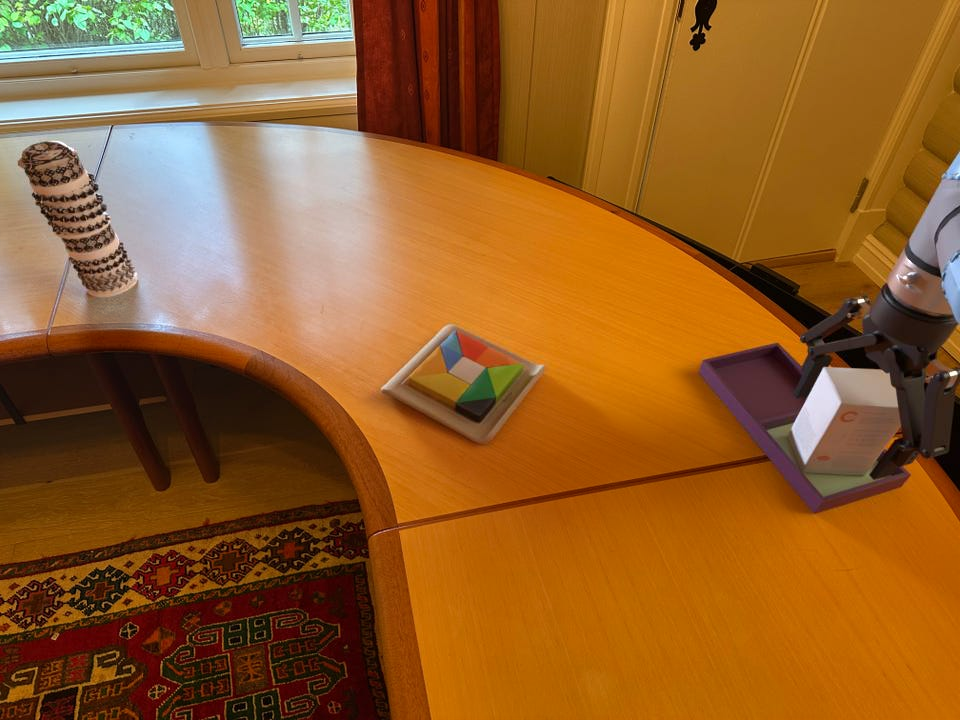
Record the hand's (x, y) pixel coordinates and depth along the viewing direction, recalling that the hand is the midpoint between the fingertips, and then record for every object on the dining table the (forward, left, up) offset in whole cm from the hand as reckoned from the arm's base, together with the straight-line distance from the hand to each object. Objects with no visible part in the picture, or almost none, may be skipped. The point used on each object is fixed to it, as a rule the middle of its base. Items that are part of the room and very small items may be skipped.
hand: (839, 432), depth 76 cm
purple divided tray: (+6, 0, -6) cm, 8 cm away
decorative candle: (+70, +94, -6) cm, 118 cm away
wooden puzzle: (+27, +41, -6) cm, 50 cm away
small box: (0, 0, -5) cm, 5 cm away
